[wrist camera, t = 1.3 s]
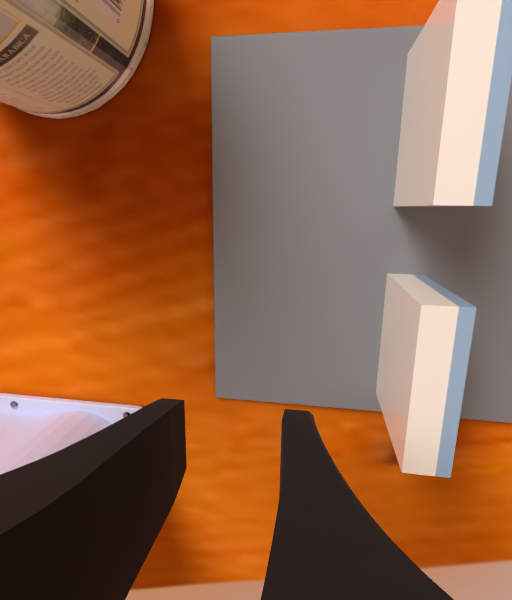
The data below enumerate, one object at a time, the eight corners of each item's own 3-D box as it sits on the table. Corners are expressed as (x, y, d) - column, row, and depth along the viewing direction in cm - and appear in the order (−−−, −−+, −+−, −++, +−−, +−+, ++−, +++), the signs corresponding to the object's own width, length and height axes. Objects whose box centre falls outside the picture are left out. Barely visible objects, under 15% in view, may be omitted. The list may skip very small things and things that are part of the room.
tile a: (375, 392, 19) (401, 472, 13) (386, 273, 18) (421, 304, 12) (409, 395, 19) (450, 477, 13) (423, 274, 17) (476, 307, 12)
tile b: (393, 206, 17) (432, 205, 11) (407, 54, 16) (461, -37, 10) (431, 206, 17) (491, 205, 11) (449, 52, 15) (529, -42, 10)
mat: (217, 393, 21) (215, 397, 20) (213, 40, 17) (210, 36, 17) (562, 423, 18) (567, 427, 18) (651, 18, 14) (661, 12, 14)
